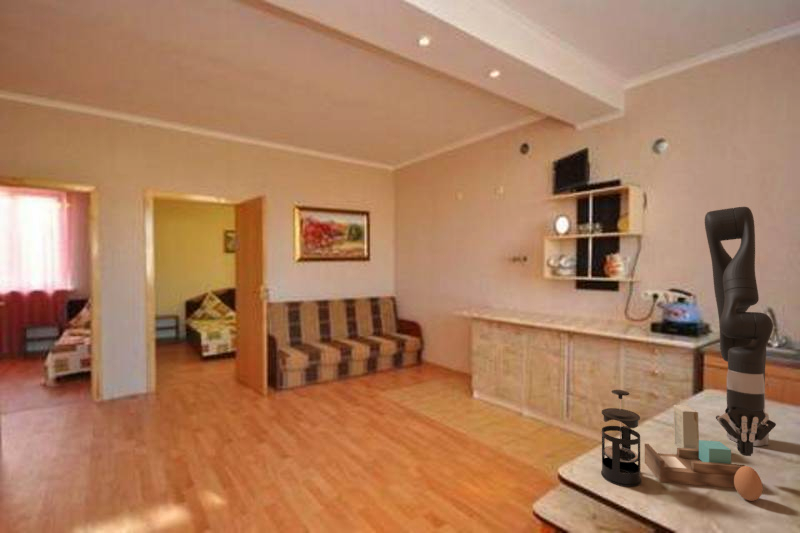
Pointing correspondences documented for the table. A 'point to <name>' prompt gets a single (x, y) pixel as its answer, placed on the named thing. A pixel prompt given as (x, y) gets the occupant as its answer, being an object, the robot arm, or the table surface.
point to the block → (714, 452)
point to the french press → (620, 455)
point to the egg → (748, 483)
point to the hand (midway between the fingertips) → (745, 454)
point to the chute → (689, 468)
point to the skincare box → (686, 427)
